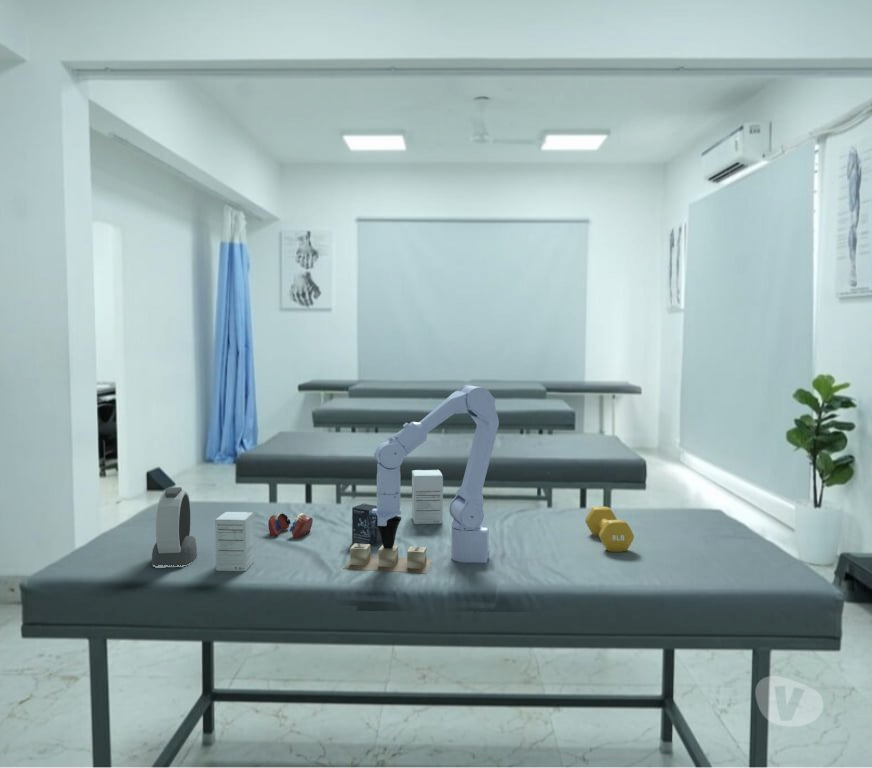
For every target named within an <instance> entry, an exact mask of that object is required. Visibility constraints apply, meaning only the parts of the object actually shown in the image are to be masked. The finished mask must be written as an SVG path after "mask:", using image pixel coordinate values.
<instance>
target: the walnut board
mask: <svg viewBox="0 0 872 768" xmlns="http://www.w3.org/2000/svg"><path fill="white" fill-rule="evenodd" d="M432 562H433V559H427V558H426V565H425V567H424V569H419V568H407V557H398V563H397V565H396V566H395V567H384V566H379V556H373V555H372V556H371V555H370V561H369V563H368V564H367V565H350V560H349V561H347V563H345V565H344V566H343V567H342V569H343V570H359V571H378V572H395V573H396V572H397V573H410V574H427V572H428V569H429V568H430V566H431V564H432Z"/></svg>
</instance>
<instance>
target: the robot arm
mask: <svg viewBox="0 0 872 768" xmlns="http://www.w3.org/2000/svg"><path fill="white" fill-rule="evenodd" d="M495 403H496V399H495V397H494V396H493V395H492V393H491V392H490V390H488V389H487V388H486V387H483V386H475V385H473V384H465V385H463V386H461V387H460V388H459V389H458V390H456V391H453V392H452V393H451V394H450V395H449V396H448V397H447V398H445V400H443V401H442V402H441V403H440V404H439V405H437V406H436V407H435V408H434V409H433V410H432V411H430V412H429V413H428V414H427V415H426V416H424V417H423V419H421V420H420V421H418V422H417V421H411V422H410V423H408V422H405V423H404V424H403V425H402V427H403V428H402V429H401V430H399V431H398V432H397V433H395V434H394V435H393V436H391V435H390V436H388V437H387V441H386V442H385V441H383V442H381V443H380V444H378V446H377V447H376V450H375V452H374V458H375V460H376V462H377V468H376V471H377V473H376V506H377V509H373V510H372V513H376V515H377V517H378V518H377V519H376V520H375V522H376V525H377V527H378V529H379V531H380V534H381V539H382V543H383V544H382V545H383V547H384V548H389V549H392V548H393V546H395V541H396V537H397V536H396V535H397V530H398V528H399V524H400V523H401V521H402V517H401V516H400V515H402V509H401V465H402V464H403V461H404V457H407V456H408V455H410V454H411V453H412V452H414V451H415V450H416V449H417V448H418V447H420V446H421V445H422V444H424V442H425V441H427V437H428V433H429V432H430V431H432V430H433V429H435V428H436V427H438V426H439V425H440V424H442V423H444V421H446V420H447V419H449V418H450V417H451V416H453V415H455V414H457V415H458V414H469V415H470V417H471V419H472V420H473V421H474V422H475V425H476V428H475V430H474V431H475V432H474V435H473V438H472V444H471V448H470V452H469V454H468V455H469V456H468V459H467V463H466V468H465V471H464V475H463V478H462V483H461V486H460V487H459V488H458V489H457V491H456V494H455V496H454V497H453V499H452V500H451V501H450V503H449V506H448V508H449V509H448V510H449V515H450V516H451V517H452V518H453V521H452V523H451V556H450V557H451V559H452V560H453V561H455V562H457V563H479V564H480V563H481V564H483V563H484V564H487V563H488V560H489V558H490V550H489V547H490V540H489V539H490V532H489V531H490V530H489V527H485V526H481V525H482V523H483V521H484V518H485V515H484V514H485V513H484V502H485V500H484V497H483V489H484V484H485V482H486V481H485V480H486V476H487V472H488V468H489V466H490V465H489V464H490V460H491V457H492V453H493V449H494V446H495V442H496V441H495V440H496V437H497V434H498V429H499V425H500V420H499V416H498V413H497V408H496V404H495Z"/></svg>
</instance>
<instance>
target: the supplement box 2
mask: <svg viewBox="0 0 872 768" xmlns="http://www.w3.org/2000/svg"><path fill="white" fill-rule="evenodd" d="M443 503H444V476H443V474H442V472H441V470H439V469H425V470H423V469H415V470H414V469H413V470H411V518H412V521H413V524H414V525H433V524H434V525H441V524H443V523H444V520H443V518H444V517H443V516H444V514H443V513H444V511H443V510H444V506H443V505H444V504H443Z"/></svg>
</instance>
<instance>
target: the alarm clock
mask: <svg viewBox="0 0 872 768" xmlns="http://www.w3.org/2000/svg"><path fill="white" fill-rule="evenodd" d="M191 507H192V506H191V501H190V494H189V493H188V491H186V490H183V489H182V487H181V486H180V487H179V486H177V487H176V486H175V487H174V486H173V487H172V486H171V487H167V488H166V489H165V491H163V492H162V493H161V495H160V497H159V500H158V505H157V511H156V522H155V539H156V543H155V544H154V546H153V548H152V553H151V565H152V564H153V565H155V566H158V565H163V566H164V565H168V566H169V565H170V566H171V565H172V566H173V565H174V566H177V565H179V566H180V565H181V566H182V565H187V564H189V563H191V562H193V561H194V560H195V559H196V560H197V558H196V557H198V549H197V541H196V540H197V539H196V538H195V536H193V535H191V529H192V528H191V525H192V509H191ZM196 560H195V561H196ZM195 561H194V562H195ZM194 562H193V563H194Z"/></svg>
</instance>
